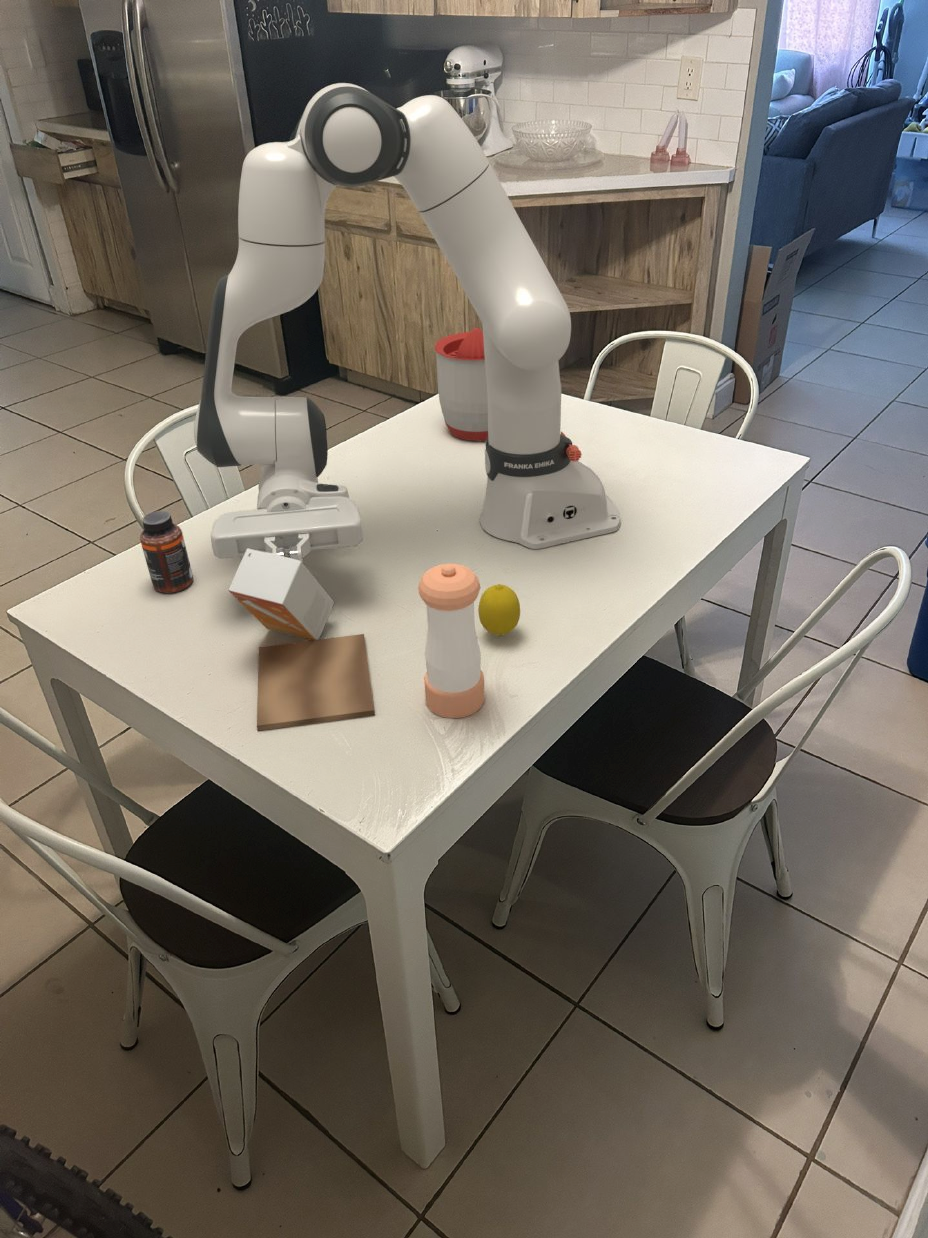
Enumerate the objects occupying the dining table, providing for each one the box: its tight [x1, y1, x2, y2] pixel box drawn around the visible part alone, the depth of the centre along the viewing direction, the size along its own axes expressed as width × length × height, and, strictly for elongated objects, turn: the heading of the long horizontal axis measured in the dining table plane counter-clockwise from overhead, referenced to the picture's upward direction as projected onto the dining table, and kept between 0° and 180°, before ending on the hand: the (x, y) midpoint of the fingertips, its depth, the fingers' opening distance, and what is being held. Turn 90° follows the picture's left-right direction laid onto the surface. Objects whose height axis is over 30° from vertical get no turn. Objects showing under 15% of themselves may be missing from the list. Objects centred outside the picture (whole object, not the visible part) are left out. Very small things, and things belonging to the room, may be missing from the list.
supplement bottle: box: [139, 510, 194, 594], centre depth 134 cm, size 6×6×11 cm
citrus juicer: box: [433, 327, 488, 442], centre depth 174 cm, size 16×17×20 cm
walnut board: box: [256, 633, 376, 732], centre depth 117 cm, size 14×16×1 cm
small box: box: [228, 548, 335, 641], centre depth 120 cm, size 8×6×13 cm
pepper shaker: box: [417, 563, 486, 719], centre depth 108 cm, size 7×7×19 cm
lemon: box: [477, 584, 521, 637], centre depth 122 cm, size 6×6×8 cm
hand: (287, 559), depth 120 cm, fingers closed
